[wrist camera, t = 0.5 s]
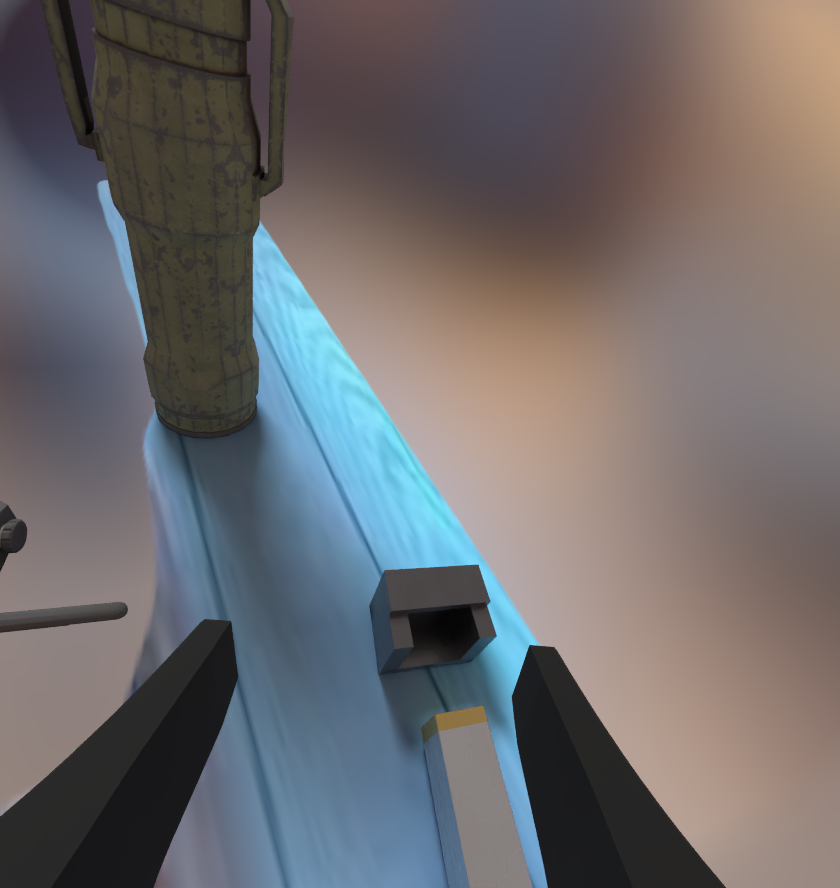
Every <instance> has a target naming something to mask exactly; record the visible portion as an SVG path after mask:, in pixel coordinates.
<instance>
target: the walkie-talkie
mask: <svg viewBox="0 0 840 888" xmlns="http://www.w3.org/2000/svg"><path fill="white" fill-rule="evenodd" d="M26 537H27V527H26V524H25V523H24V522H23V521H22V520H19V519H16V517H15V516H14V514H13V513H12V511H11V509H10V508H9V506H8V505H7V504H5V503H3V502H2V501H0V571H1V569H2V567H3V565H4V563H5V561H6V558H7V556H8V554H9V553H16V552H18V551H19V550H20V549H22V548H23V546H24V544H25V542H26ZM127 611H128V608H127V605H126V604H125V603H122V602H115V603H104V604H93V605H83V606H73V607H62V608H50V609H40V610H29V611H19V612H8V613H0V633H1V632H11V631H20V630H29V629H39V628H48V627H57V626H67V625H70V624H79V623H88V622H98V621H107V620H115V619H120V618H122V617H124V616H125V615H126V614H127Z"/></svg>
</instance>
